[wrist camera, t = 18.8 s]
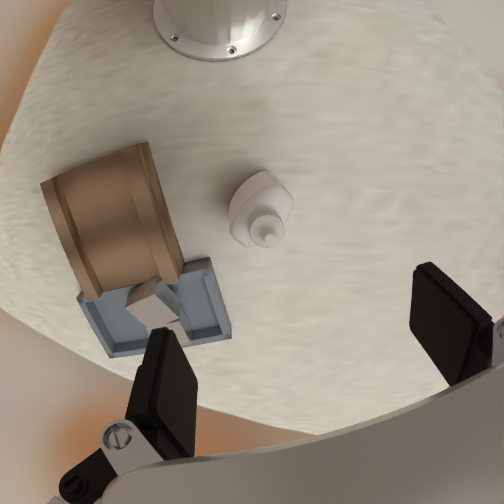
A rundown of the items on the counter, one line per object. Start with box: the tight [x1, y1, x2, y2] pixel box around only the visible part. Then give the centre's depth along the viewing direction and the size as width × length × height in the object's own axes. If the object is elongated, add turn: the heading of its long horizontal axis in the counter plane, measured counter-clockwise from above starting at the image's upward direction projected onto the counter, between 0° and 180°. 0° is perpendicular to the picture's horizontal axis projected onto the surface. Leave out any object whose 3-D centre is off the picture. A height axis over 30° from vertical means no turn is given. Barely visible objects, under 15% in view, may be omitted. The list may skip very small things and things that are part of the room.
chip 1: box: [125, 276, 181, 330], centre depth 31 cm, size 4×4×2 cm
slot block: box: [40, 142, 184, 301], centre depth 28 cm, size 13×10×4 cm
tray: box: [76, 257, 232, 358], centre depth 34 cm, size 9×16×2 cm, turn 103°
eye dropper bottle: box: [229, 170, 294, 248], centre depth 25 cm, size 4×6×12 cm
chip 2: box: [145, 307, 192, 346], centre depth 34 cm, size 4×4×2 cm
